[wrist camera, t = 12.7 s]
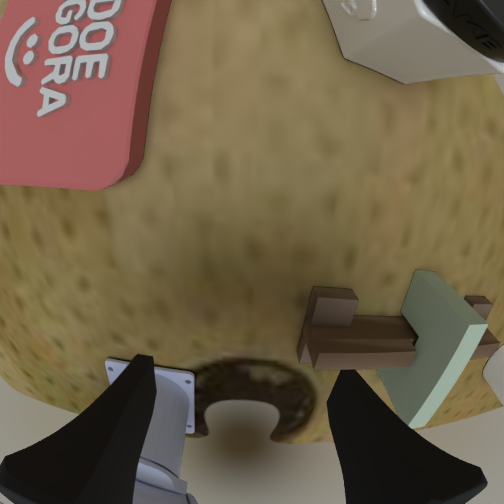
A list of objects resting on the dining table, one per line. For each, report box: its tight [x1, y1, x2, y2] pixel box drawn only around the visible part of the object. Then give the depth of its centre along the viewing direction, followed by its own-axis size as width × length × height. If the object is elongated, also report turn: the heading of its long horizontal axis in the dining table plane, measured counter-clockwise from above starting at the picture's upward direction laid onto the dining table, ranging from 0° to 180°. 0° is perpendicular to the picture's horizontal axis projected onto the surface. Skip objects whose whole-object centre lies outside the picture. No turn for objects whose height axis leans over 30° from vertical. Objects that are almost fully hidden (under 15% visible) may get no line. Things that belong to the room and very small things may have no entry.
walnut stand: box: [297, 286, 500, 370], centre depth 21 cm, size 6×18×4 cm, turn 83°
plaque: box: [0, 0, 171, 191], centre depth 13 cm, size 18×4×15 cm
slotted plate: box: [377, 270, 488, 429], centre depth 20 cm, size 10×2×8 cm, turn 173°
